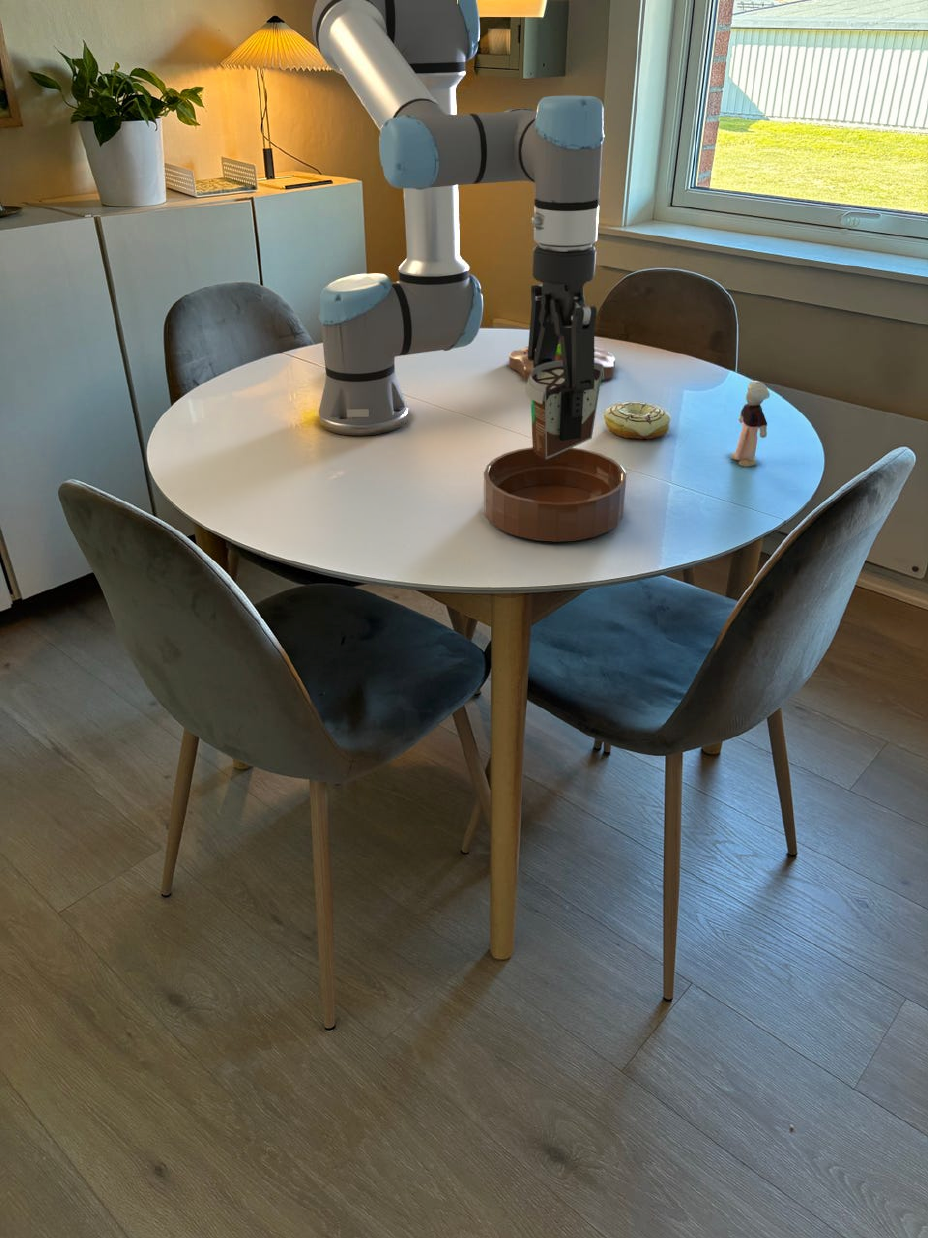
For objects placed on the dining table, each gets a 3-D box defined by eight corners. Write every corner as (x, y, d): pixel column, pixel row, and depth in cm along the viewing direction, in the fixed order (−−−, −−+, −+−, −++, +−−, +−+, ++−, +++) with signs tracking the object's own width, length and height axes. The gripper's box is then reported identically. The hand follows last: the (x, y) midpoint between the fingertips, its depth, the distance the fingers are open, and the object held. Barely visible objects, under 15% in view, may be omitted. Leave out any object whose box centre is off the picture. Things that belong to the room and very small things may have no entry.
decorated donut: (651, 447, 149) (654, 425, 147) (592, 433, 154) (594, 411, 152) (678, 427, 156) (681, 405, 154) (621, 414, 162) (623, 393, 160)
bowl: (464, 496, 135) (464, 457, 131) (583, 476, 140) (586, 438, 137) (516, 556, 119) (517, 513, 116) (648, 530, 125) (652, 489, 122)
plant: (631, 379, 177) (636, 320, 171) (534, 390, 173) (536, 329, 167) (590, 350, 194) (593, 294, 188) (500, 359, 189) (501, 303, 183)
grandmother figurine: (719, 455, 146) (731, 376, 139) (739, 451, 147) (752, 372, 141) (750, 473, 140) (764, 391, 133) (771, 469, 141) (786, 387, 135)
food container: (564, 422, 130) (569, 351, 124) (598, 435, 126) (605, 363, 121) (503, 448, 123) (505, 374, 117) (538, 463, 119) (542, 388, 113)
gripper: (503, 232, 118) (501, 407, 130) (573, 264, 102) (564, 460, 114) (557, 227, 120) (550, 400, 132) (634, 258, 104) (618, 451, 116)
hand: (556, 427), depth 123 cm, fingers closed on food container, 7 cm apart
